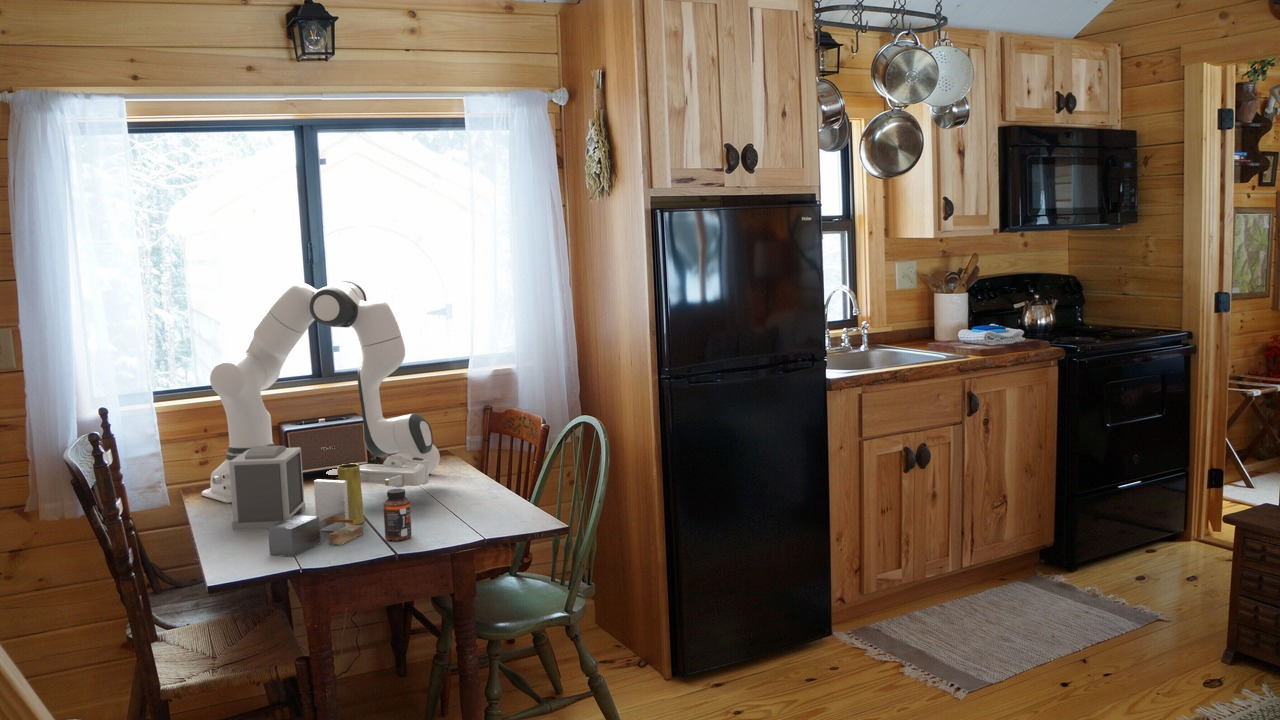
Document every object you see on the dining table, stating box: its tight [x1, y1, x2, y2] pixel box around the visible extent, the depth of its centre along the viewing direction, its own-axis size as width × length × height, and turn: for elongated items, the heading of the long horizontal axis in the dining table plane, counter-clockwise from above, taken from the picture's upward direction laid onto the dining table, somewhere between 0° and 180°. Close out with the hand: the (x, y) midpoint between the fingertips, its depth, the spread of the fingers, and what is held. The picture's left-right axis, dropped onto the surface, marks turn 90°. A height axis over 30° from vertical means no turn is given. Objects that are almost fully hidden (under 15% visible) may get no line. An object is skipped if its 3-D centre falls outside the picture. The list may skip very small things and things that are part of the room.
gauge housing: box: [267, 514, 321, 557], centre depth 225 cm, size 6×10×6 cm, turn 162°
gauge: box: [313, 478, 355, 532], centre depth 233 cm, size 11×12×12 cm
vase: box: [337, 463, 365, 525], centre depth 245 cm, size 6×6×14 cm
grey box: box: [229, 445, 306, 531], centre depth 251 cm, size 18×13×18 cm
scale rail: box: [328, 524, 364, 546], centre depth 232 cm, size 3×9×2 cm, turn 162°
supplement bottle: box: [383, 488, 412, 542], centre depth 231 cm, size 6×6×11 cm
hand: (371, 481), depth 254 cm, fingers open, 8 cm apart
